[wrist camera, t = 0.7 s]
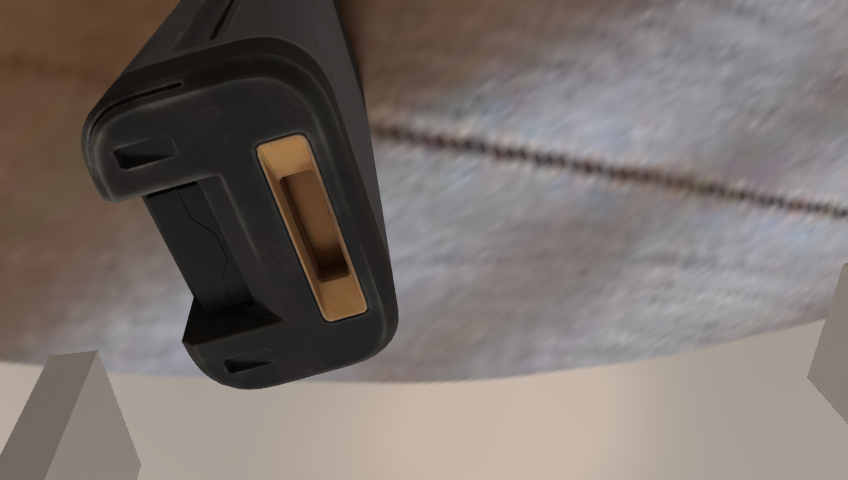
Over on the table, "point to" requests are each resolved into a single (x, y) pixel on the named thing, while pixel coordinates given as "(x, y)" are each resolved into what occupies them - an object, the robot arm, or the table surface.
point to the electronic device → (255, 185)
